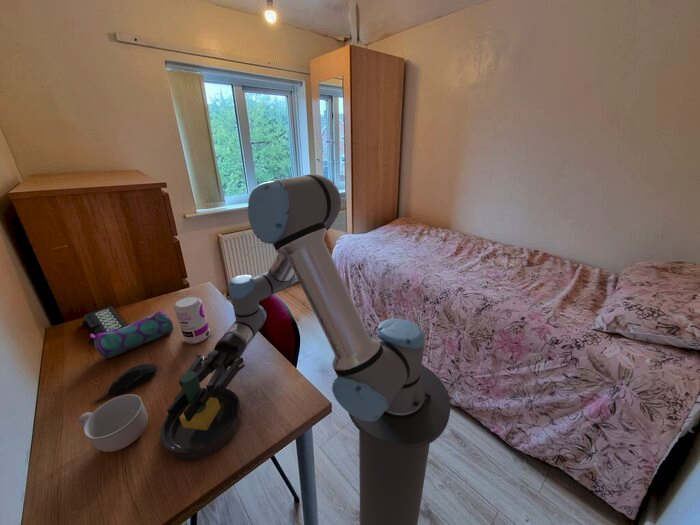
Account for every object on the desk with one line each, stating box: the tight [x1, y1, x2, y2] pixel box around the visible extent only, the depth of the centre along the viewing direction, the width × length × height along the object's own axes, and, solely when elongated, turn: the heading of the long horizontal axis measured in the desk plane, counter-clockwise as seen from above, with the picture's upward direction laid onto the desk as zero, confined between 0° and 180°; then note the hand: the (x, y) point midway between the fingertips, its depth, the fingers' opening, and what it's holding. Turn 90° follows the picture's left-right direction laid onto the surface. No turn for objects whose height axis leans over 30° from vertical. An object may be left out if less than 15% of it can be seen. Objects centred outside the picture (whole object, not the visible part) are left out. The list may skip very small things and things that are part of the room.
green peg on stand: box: [179, 371, 221, 430], centre depth 66 cm, size 6×6×14 cm
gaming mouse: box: [96, 363, 158, 403], centre depth 82 cm, size 6×15×4 cm, turn 142°
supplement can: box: [174, 295, 211, 344], centre depth 98 cm, size 8×8×15 cm
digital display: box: [81, 306, 128, 342], centre depth 107 cm, size 21×3×10 cm
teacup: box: [77, 393, 149, 453], centre depth 67 cm, size 14×11×8 cm
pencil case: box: [89, 310, 174, 360], centre depth 96 cm, size 21×9×10 cm, turn 138°
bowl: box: [159, 387, 243, 462], centre depth 70 cm, size 17×17×4 cm
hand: (178, 415), depth 61 cm, fingers closed on green peg on stand, 3 cm apart
